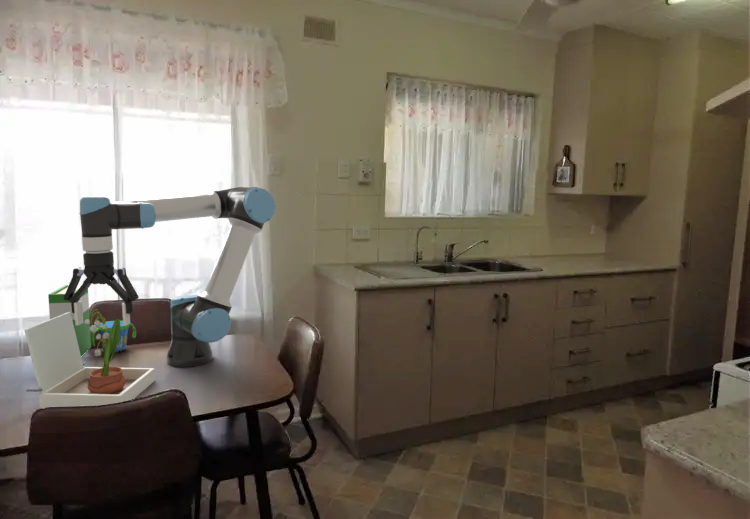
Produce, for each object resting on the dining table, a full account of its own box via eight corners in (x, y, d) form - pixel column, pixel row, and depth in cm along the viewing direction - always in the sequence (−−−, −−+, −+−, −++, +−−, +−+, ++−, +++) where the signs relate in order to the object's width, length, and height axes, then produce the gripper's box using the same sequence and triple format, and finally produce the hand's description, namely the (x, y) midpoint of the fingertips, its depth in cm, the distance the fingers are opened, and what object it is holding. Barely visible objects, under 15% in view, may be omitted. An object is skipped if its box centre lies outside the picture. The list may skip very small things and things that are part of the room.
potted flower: (105, 401, 145) (101, 314, 141) (74, 397, 147) (69, 311, 143) (133, 385, 156) (129, 304, 153) (104, 382, 158) (100, 302, 155)
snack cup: (131, 343, 200) (130, 317, 199) (141, 349, 193) (140, 323, 191) (87, 351, 189) (85, 324, 188) (96, 358, 182) (94, 330, 181)
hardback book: (69, 348, 193) (65, 284, 189) (91, 347, 194) (87, 284, 191) (52, 363, 176) (48, 294, 172) (76, 362, 178) (72, 293, 174)
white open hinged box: (154, 380, 162) (152, 312, 160) (121, 410, 141) (117, 332, 138) (73, 378, 162) (69, 311, 159) (27, 408, 141) (21, 330, 138)
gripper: (148, 250, 150) (152, 321, 153) (61, 249, 150) (67, 320, 153) (136, 253, 142) (140, 328, 145) (45, 252, 142) (51, 327, 145)
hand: (103, 324), depth 149 cm, fingers open, 13 cm apart
